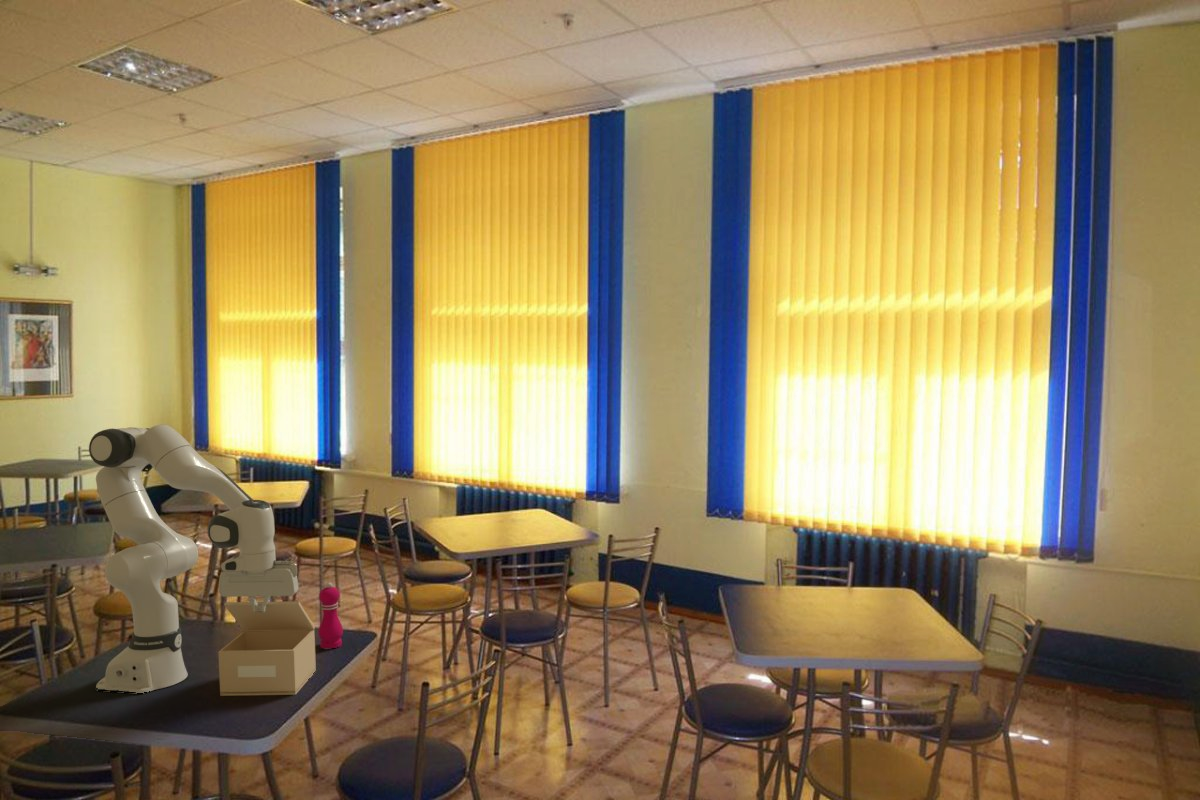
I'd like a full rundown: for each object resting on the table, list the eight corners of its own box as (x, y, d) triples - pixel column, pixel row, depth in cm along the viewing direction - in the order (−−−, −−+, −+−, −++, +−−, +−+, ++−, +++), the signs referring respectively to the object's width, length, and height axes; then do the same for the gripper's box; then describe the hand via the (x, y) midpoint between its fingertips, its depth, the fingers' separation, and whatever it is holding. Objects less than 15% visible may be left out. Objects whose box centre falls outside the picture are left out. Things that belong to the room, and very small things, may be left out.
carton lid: (224, 605, 225) (224, 602, 225) (244, 630, 237) (244, 627, 238) (298, 604, 225) (299, 601, 225) (314, 629, 237) (315, 626, 238)
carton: (219, 696, 222) (218, 651, 221) (245, 672, 238) (243, 630, 237) (295, 694, 222) (293, 650, 221) (315, 671, 238) (314, 629, 237)
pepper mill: (336, 651, 254) (333, 586, 252) (314, 649, 255) (311, 585, 254) (347, 642, 261) (345, 579, 259) (326, 641, 262) (324, 578, 261)
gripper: (301, 557, 226) (302, 607, 227) (225, 558, 226) (227, 608, 227) (292, 563, 220) (294, 615, 221) (215, 564, 220) (217, 616, 221)
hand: (259, 611), depth 224 cm, fingers closed, pressing on carton lid
